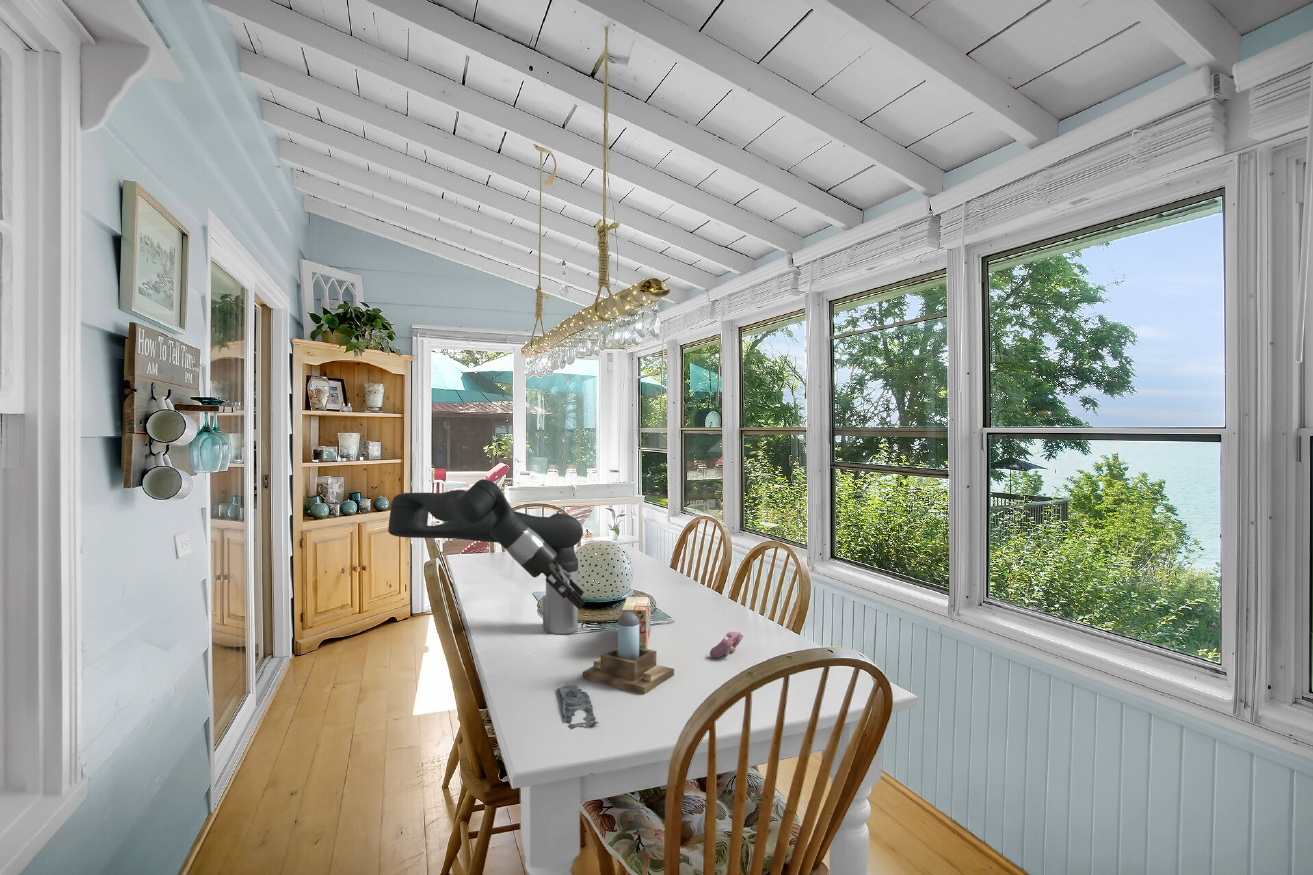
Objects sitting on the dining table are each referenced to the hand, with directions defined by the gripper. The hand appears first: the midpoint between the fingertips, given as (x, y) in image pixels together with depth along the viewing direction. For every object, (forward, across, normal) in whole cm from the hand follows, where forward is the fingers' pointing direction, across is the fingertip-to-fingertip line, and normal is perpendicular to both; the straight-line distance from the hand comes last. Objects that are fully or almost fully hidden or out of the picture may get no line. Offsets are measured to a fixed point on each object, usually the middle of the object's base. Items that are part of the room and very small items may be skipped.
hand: (581, 600), depth 147 cm
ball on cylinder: (+20, 0, -4) cm, 20 cm away
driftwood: (+12, +14, -15) cm, 24 cm away
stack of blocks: (+24, -24, -2) cm, 34 cm away
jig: (+21, 0, -5) cm, 21 cm away
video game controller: (+40, -12, +14) cm, 44 cm away
